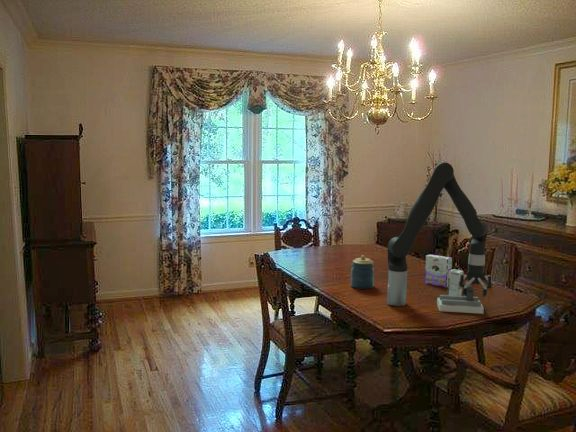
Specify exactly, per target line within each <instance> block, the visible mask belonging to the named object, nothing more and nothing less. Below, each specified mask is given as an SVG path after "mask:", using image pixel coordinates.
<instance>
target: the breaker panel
mask: <svg viewBox="0 0 576 432" xmlns="http://www.w3.org/2000/svg"><path fill="white" fill-rule="evenodd" d="M436 306H437V309H438V310H439V311H440V312H449V313H464V314H465V313H466V314H467V313H468V314H479V315H481V314H482V315H484V309H485V308H484V306H483V304H482V301H480V300H479V296H473V301H465V295H462V296H454V295H447V294H439V297H437V299H436Z"/></svg>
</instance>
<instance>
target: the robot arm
mask: <svg viewBox="0 0 576 432" xmlns="http://www.w3.org/2000/svg"><path fill="white" fill-rule="evenodd" d="M433 169H434V170H433V172H432V174H431V177H430V178H429V181H428V183H427V184H426V186H425V187H424V189H423V190H422V191H421V193H419V196H418V197H417V199H416V200H415V202H414V203H413V204H412V207H411V208H410V210H409V212H408V216H407V218H406V222H405V225H404V229H403V230H402V231H401V233H400V234H399V236H395V237H392V238H391V239H390V240H389V241H388V244H387V264H388V267H387V268H388V275H387V293H386V295H387V296H386V304H387V305H389V306H394V307H403V306H406V304H407V290H408V289H407V288H408V287H407V286H408V285H407V284H408V263H407V256H408V255H409V253H410V251H411V250H412V247H413V245H414V243H415V241H416V239H417V237H418V235H419V234H420V232H421V230H422V228H423V227H424V225H425V224H426V222H427V220H429V218H430V216H431V214H432V212H433V210H434V208H435V206H436V204H437V201H438V199H439V197H440V194H441V193H442V191H443V190H445V191H446V193H447V194H448V196H449V197H450V199H451V200H452V203H453V204H454V206H455V208H456V209H457V211H458V213H459V215H460V216H461V218H462V219H463V221H464V225H465V227H466V228H467V231H468V232H469V234H470V235H471V240H470V244H469V249H468V250H469V251H468V252H469V254H468V258H467V259H468V262H467V273H466V274H464V273H463V274H461V275H460V283H459V285H460V287H462V294H463V296H466V294H467V286H468V285H480V284H481V286H482V287H483V288H482V297H483V298H484V297H487V290H488V289H491V288H492V276H491V275H490V274H488V275H485V266H486V265H485V264H486V242H487V237H488V230H489V229H488V226H487V223H486V222H485V221H481V220H480V218H479V217H478V212H477V210H476V208H475V206H474V205H473V204H472V202H471V201H470V199H469V197H468V196H467V195H466V194H465V192H464V191H463V190H462V189H461V187H460V186H459V184H458V182H457V179H456V177H455V174H454V173H455V171H454V167H453V166H452V164H451V163H449V162H444V161H443V162H439V163H438V164H437V165H436V166H435V167H434V168H433ZM466 278H467V280H466V281H465V283H464V280H465V279H466ZM485 279H486V281H487V282H486V283H487V284H485V283H484V280H485Z"/></svg>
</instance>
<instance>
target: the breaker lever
mask: <svg viewBox="0 0 576 432" xmlns="http://www.w3.org/2000/svg"><path fill="white" fill-rule="evenodd" d="M474 291H475V289H474V288H473V287H472V284H470V285H468V286H467V294H466V296H465V295H464V296H465V301H473V297H474V293H475V292H474Z"/></svg>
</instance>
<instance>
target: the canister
mask: <svg viewBox="0 0 576 432" xmlns="http://www.w3.org/2000/svg"><path fill="white" fill-rule="evenodd" d="M373 263H374V261H373V260H371V259H370V258H367V257H366V255H363V254H362V255H361V256H360V257H356V258H355V259H352V263H351V264H350V266H351V270H350V286H351V287H352V288H355V289H360V290H366V289H372V288H374V285H375V282H374V281H375V270H374V268H375V265H374V264H373Z"/></svg>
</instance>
